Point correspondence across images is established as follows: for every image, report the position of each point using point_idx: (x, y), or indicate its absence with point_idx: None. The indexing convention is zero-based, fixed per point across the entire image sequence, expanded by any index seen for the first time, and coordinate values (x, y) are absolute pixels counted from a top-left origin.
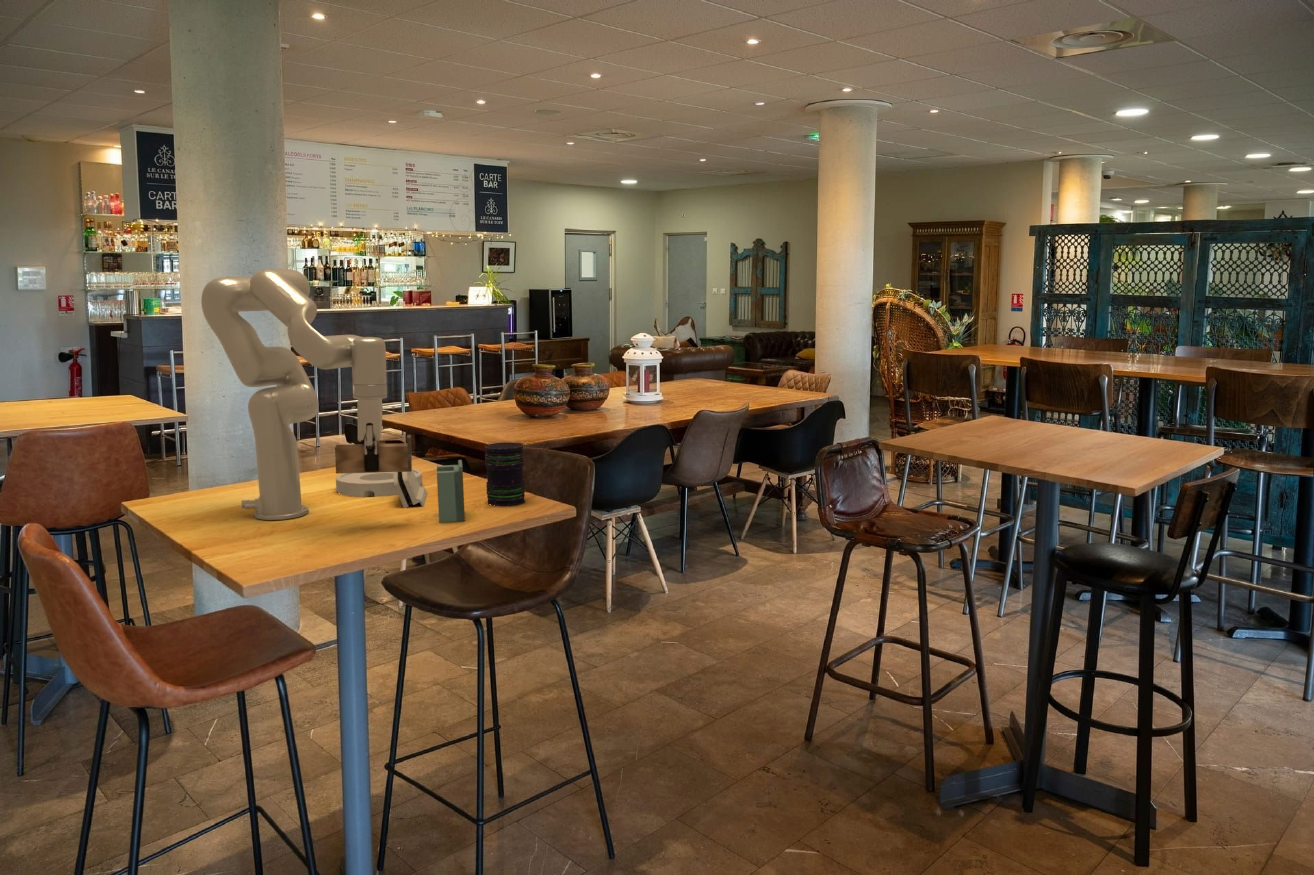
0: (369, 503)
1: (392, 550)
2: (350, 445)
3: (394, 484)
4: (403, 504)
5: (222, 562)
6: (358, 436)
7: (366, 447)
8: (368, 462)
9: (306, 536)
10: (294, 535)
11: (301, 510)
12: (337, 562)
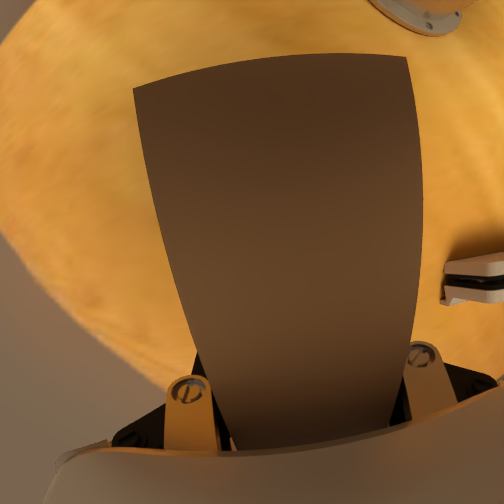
0: (495, 173)
1: (66, 306)
2: (347, 268)
3: (489, 263)
4: (450, 264)
5: (19, 30)
6: (51, 487)
7: (114, 439)
8: (198, 355)
9: (169, 72)
10: (184, 39)
11: (412, 17)
12: (3, 228)
